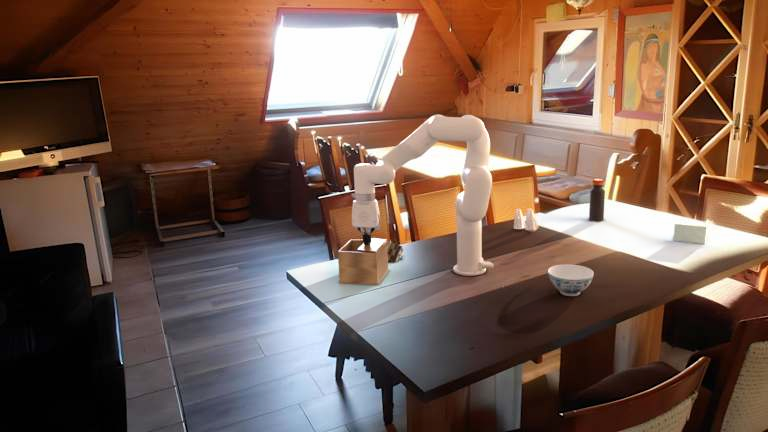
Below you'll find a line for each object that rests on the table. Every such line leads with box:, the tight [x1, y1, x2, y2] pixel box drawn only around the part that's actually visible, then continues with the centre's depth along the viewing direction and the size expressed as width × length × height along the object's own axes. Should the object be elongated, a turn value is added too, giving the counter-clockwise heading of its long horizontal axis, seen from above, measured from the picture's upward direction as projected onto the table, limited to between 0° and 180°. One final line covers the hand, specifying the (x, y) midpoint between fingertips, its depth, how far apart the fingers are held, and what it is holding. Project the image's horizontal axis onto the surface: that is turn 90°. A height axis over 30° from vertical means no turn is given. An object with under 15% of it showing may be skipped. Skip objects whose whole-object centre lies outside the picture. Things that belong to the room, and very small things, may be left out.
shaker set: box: [513, 208, 539, 233], centre depth 281 cm, size 12×4×11 cm, turn 40°
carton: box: [337, 239, 389, 286], centre depth 230 cm, size 15×16×12 cm
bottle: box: [588, 178, 606, 222], centre depth 292 cm, size 7×7×20 cm
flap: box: [357, 237, 388, 252], centre depth 227 cm, size 7×15×1 cm, turn 165°
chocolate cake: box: [387, 239, 405, 263], centre depth 251 cm, size 10×7×12 cm
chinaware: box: [547, 263, 595, 297], centre depth 206 cm, size 15×15×8 cm
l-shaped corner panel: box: [673, 219, 710, 245], centre depth 258 cm, size 12×12×8 cm
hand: (367, 243), depth 227 cm, fingers closed
